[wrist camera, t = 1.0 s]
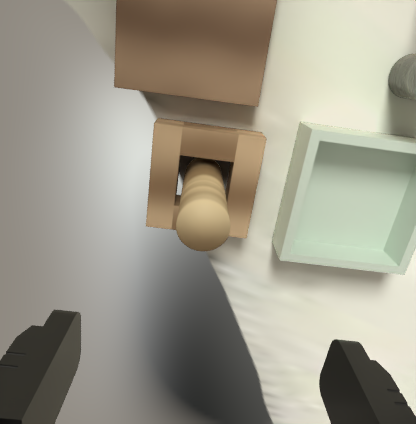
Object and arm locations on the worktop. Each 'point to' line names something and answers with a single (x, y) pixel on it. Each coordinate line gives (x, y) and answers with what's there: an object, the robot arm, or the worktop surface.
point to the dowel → (203, 207)
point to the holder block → (210, 149)
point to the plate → (194, 47)
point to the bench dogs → (404, 77)
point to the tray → (349, 200)
